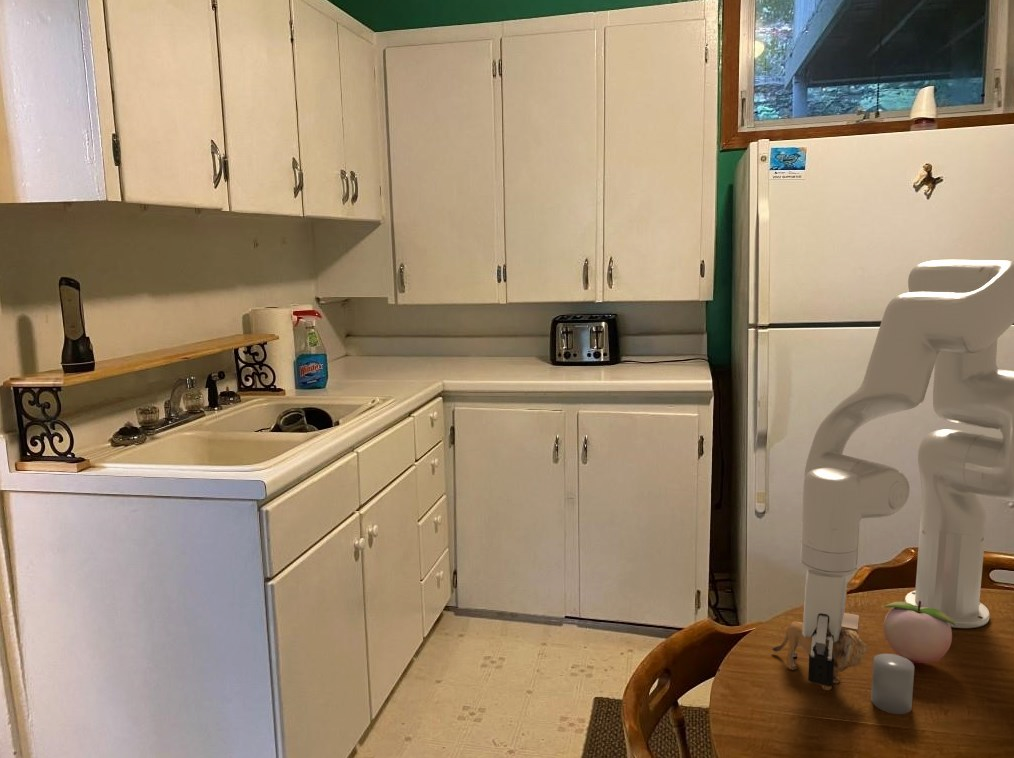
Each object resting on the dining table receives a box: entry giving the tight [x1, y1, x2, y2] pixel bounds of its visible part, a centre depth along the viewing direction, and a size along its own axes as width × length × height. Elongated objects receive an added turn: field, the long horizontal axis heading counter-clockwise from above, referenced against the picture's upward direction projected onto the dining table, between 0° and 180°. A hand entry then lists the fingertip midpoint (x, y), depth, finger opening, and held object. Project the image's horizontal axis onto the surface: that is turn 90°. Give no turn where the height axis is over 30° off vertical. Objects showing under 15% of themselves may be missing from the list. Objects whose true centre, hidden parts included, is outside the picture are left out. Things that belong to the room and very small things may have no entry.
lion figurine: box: [771, 620, 868, 691], centre depth 113 cm, size 15×5×9 cm, turn 34°
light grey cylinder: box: [870, 653, 915, 715], centre depth 106 cm, size 5×5×6 cm
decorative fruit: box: [882, 601, 955, 664], centre depth 115 cm, size 9×8×10 cm
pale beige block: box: [841, 612, 860, 635], centre depth 123 cm, size 5×4×4 cm
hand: (823, 666), depth 113 cm, fingers open, 9 cm apart
